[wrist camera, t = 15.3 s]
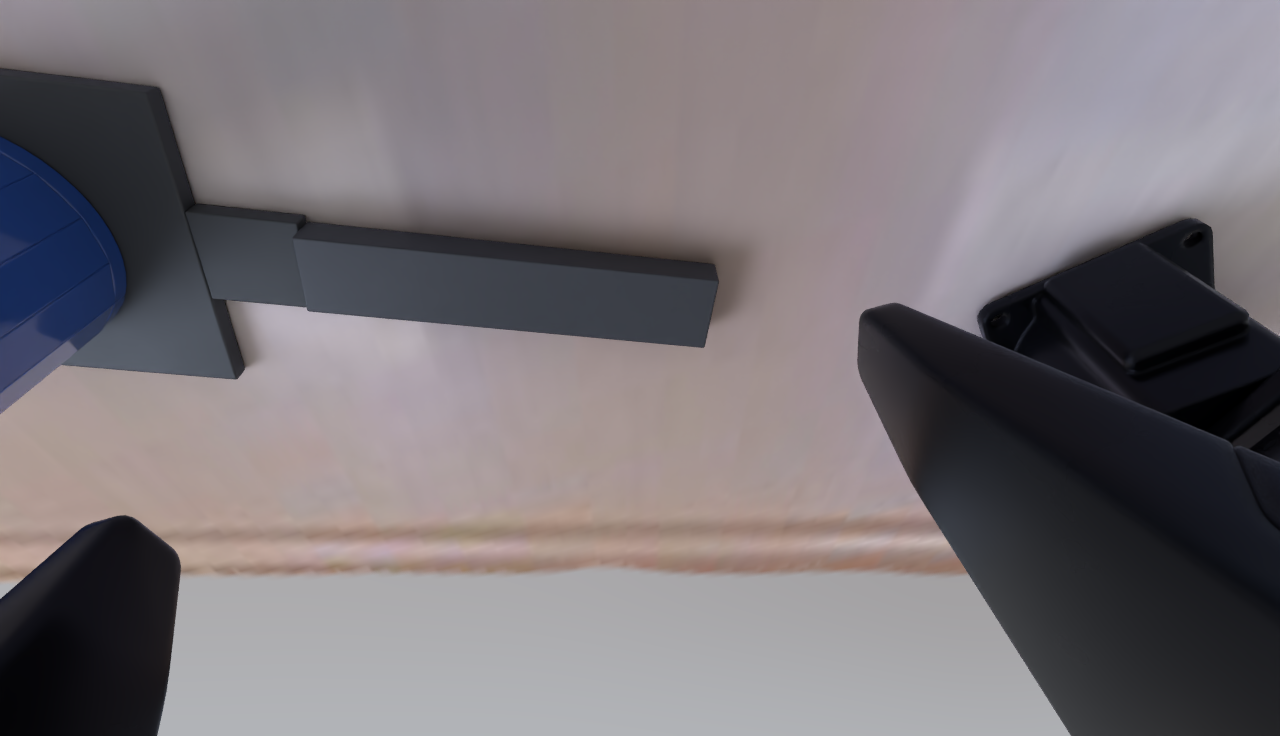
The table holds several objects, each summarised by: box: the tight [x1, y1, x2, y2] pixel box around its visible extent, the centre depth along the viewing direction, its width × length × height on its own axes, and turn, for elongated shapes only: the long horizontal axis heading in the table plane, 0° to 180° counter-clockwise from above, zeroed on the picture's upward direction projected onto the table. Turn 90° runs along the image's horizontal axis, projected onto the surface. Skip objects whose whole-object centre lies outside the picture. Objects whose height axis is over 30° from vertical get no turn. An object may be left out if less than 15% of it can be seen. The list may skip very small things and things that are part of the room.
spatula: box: [0, 69, 719, 379], centre depth 18 cm, size 26×9×1 cm, turn 83°
